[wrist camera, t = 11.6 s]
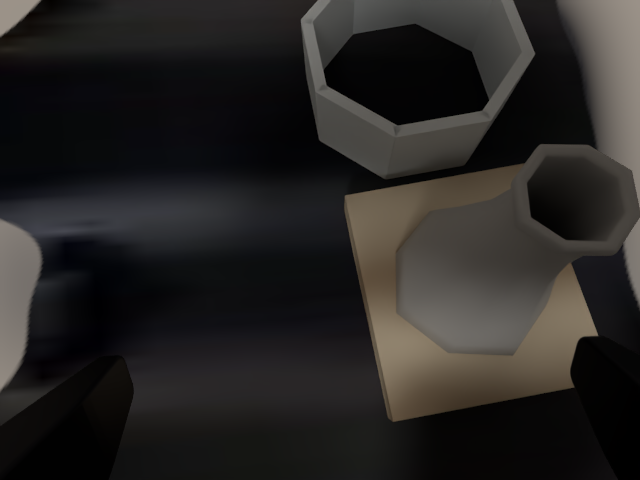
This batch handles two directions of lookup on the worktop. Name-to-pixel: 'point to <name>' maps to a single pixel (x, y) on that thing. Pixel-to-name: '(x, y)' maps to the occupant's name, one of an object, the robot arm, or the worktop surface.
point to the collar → (427, 136)
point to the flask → (512, 249)
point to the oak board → (421, 352)
